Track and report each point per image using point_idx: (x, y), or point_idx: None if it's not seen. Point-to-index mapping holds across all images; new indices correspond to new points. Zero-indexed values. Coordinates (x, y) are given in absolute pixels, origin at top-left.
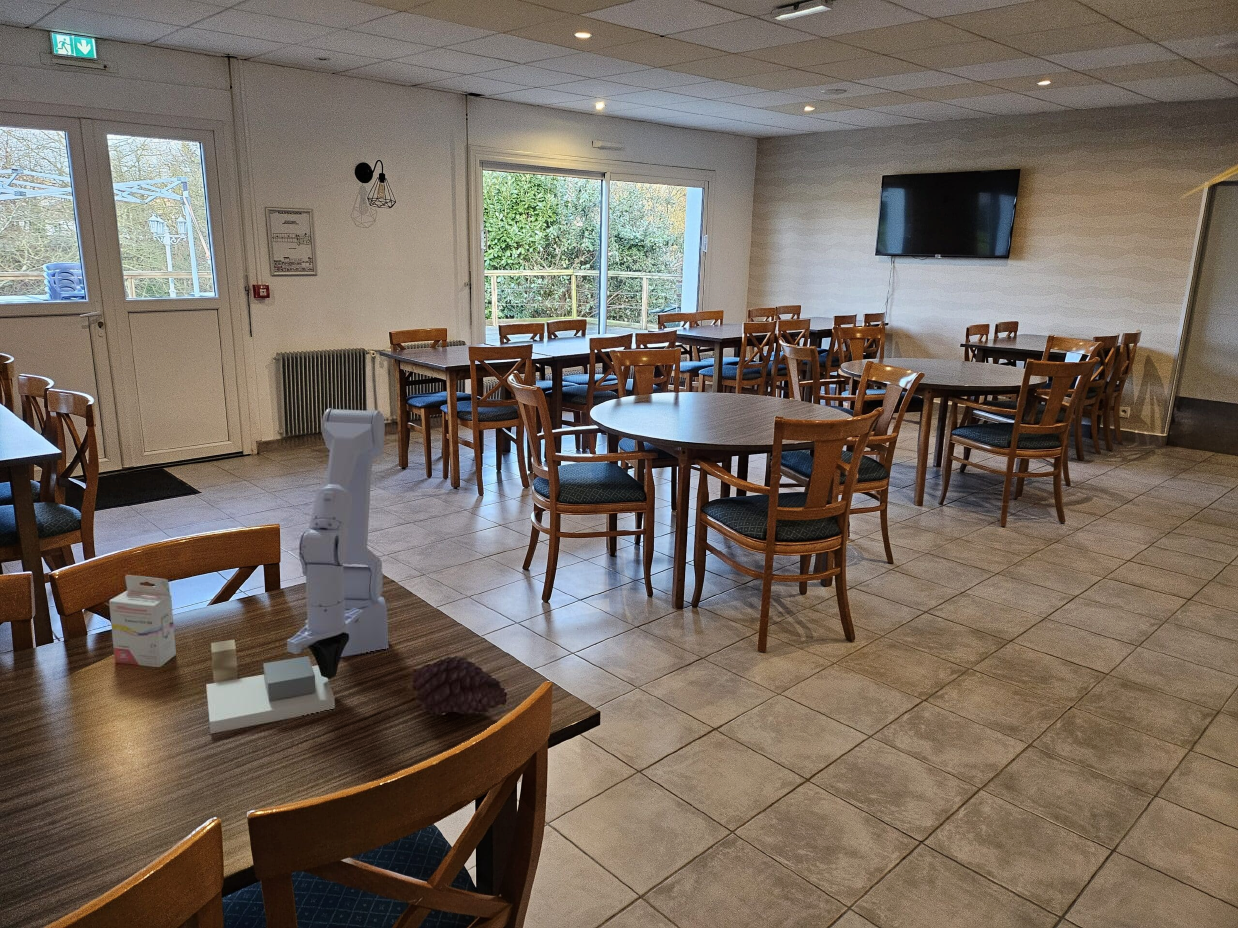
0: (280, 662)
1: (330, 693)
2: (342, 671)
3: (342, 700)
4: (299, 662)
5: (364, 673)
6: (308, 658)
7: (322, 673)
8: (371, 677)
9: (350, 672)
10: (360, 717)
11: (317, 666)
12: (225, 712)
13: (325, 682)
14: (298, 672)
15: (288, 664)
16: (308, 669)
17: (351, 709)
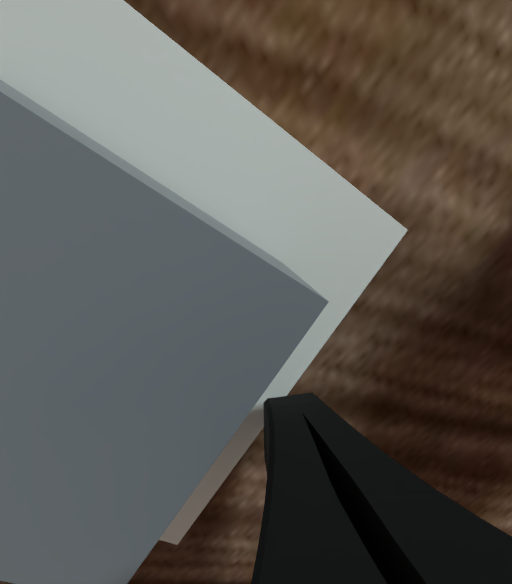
0: (8, 159)
1: (194, 504)
2: (435, 273)
3: (247, 458)
4: (174, 344)
5: (456, 359)
6: (287, 346)
7: (266, 427)
8: (439, 403)
9: (441, 309)
10: (201, 576)
11: (373, 225)
12: None
13: (257, 409)
14: (36, 493)
15: (57, 289)
16: (137, 509)
17: (220, 524)
